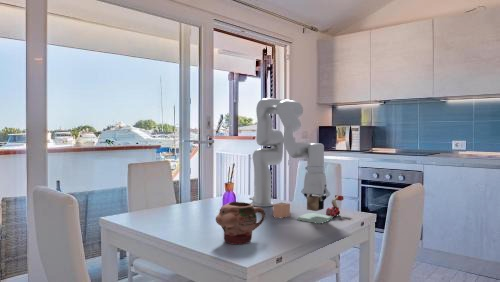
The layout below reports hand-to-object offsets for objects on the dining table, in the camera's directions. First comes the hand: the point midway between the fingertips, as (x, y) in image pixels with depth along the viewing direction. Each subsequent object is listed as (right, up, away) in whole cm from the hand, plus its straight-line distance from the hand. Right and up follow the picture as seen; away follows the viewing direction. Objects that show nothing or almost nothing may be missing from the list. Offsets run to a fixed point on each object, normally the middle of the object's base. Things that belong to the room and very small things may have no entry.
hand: (315, 208), depth 174 cm
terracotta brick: (-15, -5, +7) cm, 18 cm away
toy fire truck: (+11, -6, +8) cm, 15 cm away
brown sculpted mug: (-34, -6, -34) cm, 49 cm away
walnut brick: (0, 0, 0) cm, 0 cm away
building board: (0, -5, 0) cm, 5 cm away
